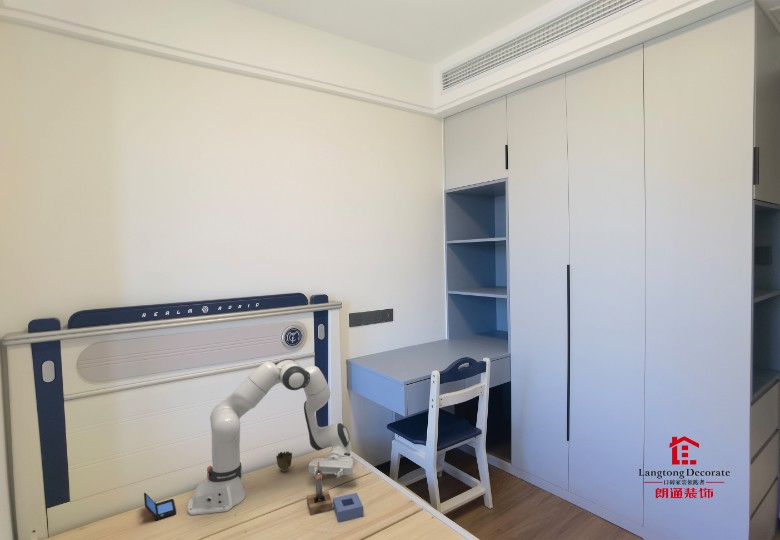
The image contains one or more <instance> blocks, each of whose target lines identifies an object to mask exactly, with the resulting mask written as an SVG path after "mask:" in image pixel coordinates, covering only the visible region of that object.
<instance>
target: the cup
mask: <svg viewBox="0 0 780 540" xmlns="http://www.w3.org/2000/svg"><path fill="white" fill-rule="evenodd" d="M275 456H276V463H277V464H276V465H277V466H278V469H280V472H281V473H287V472H289V469H290V467H291V466H292V460H293V452H291V451H288V450H287V451H280V452H278V453H277V455H275Z"/></svg>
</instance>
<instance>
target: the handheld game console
mask: <svg viewBox="0 0 780 540" xmlns="http://www.w3.org/2000/svg"><path fill="white" fill-rule="evenodd" d="M143 499H144V507H145V508H146V509H147V511H148V512H149V513H150V514H151V515H152V516H153V517H154V520H155V522H157V521H160V520H163V519H166V518H167V519H168V518H170V517H172V516H175V515H176V514H177V510H176V509H177V508H176V503H175V499H173V498H169V499H167V500H164V501H163V500H162V501H160V502H157V503H156V501H154V500H153V499H152V498H151V496H149V495H148V494H147V493H146V492H144V493H143Z"/></svg>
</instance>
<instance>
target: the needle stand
mask: <svg viewBox="0 0 780 540" xmlns="http://www.w3.org/2000/svg"><path fill="white" fill-rule="evenodd" d="M322 492H323V502H318V503H316V493H313V494H309V495H306V503H307V508H308V511H309V515H310V516H313V515H317V514H322V513H326V512H331V511H334V509H333V499H332V497H331V494H330V492H329V491H328V490H327V491H322Z"/></svg>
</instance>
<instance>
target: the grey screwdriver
mask: <svg viewBox="0 0 780 540" xmlns="http://www.w3.org/2000/svg"><path fill="white" fill-rule="evenodd" d="M317 468H318V471H317V472H316V473H315V494H316V503H318V502H323V492H324V491H323V473H322V472H321V471H320V468H319V462H317Z"/></svg>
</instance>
